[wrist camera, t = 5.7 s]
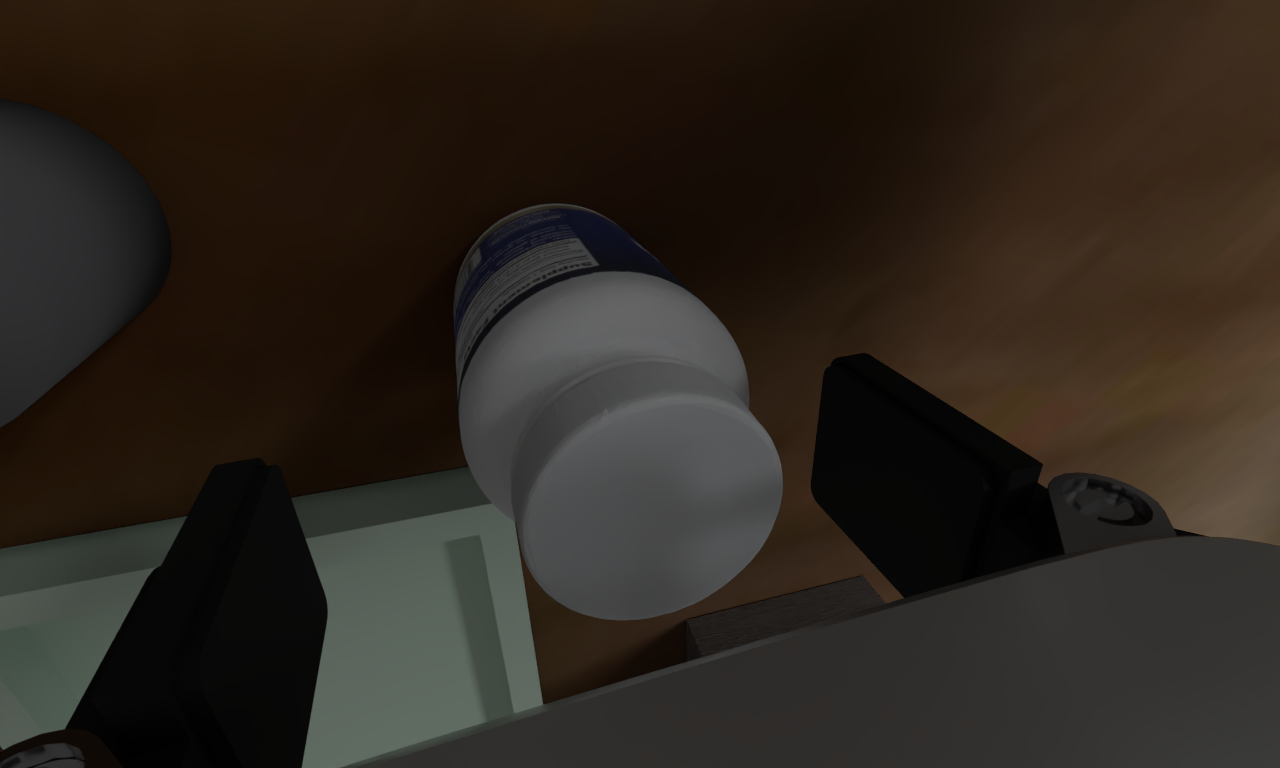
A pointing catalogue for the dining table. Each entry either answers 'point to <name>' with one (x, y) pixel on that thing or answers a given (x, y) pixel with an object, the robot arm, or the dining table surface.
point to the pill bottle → (607, 416)
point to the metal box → (777, 616)
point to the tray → (356, 626)
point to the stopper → (68, 249)
